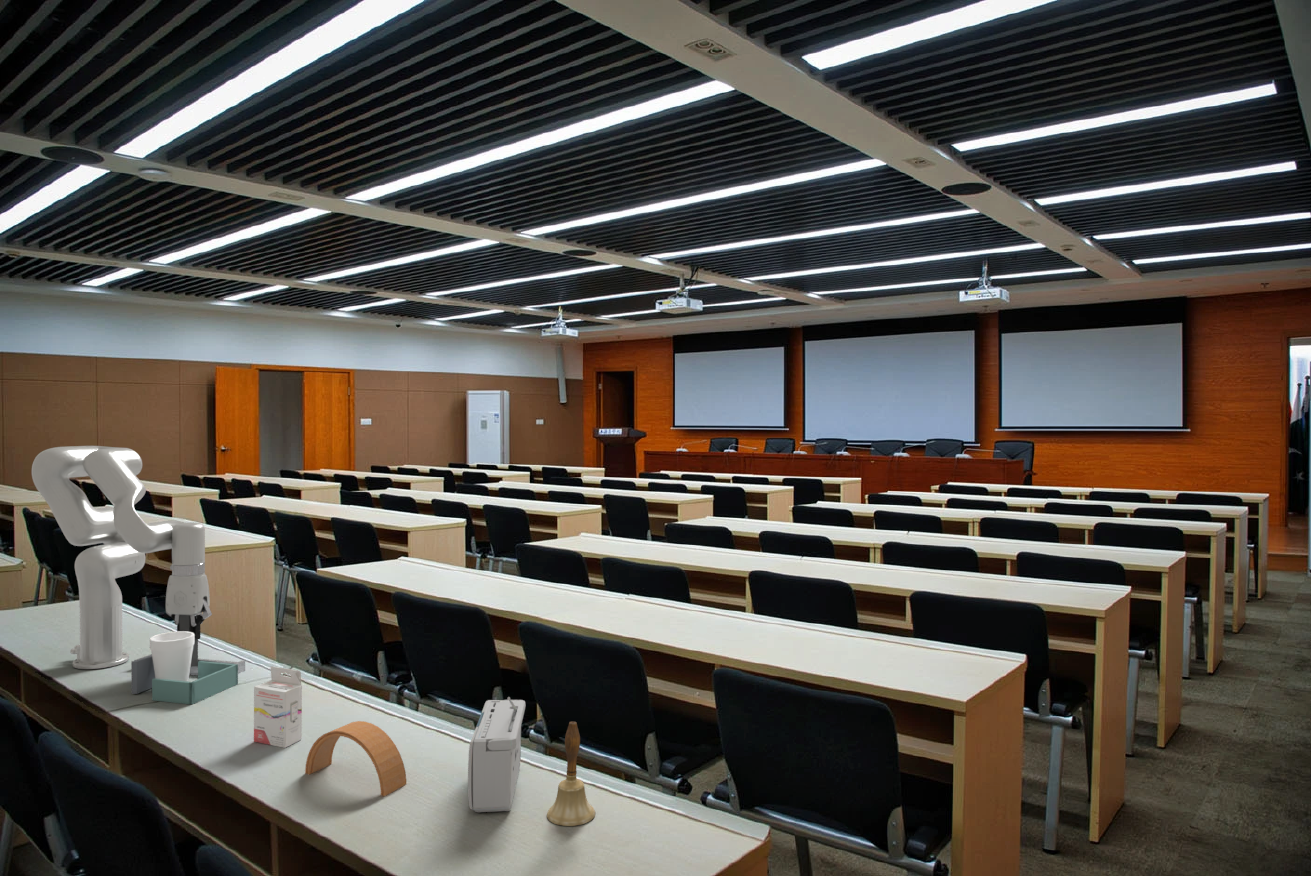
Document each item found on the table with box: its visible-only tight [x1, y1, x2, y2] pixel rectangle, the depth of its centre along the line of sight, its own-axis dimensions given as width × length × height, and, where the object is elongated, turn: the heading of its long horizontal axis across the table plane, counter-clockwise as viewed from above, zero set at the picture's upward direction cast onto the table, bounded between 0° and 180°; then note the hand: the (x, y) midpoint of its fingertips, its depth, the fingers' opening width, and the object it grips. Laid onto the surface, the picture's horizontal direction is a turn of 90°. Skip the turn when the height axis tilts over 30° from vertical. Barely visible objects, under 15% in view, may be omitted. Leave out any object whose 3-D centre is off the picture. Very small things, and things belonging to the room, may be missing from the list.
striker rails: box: [135, 653, 246, 677], centre depth 217 cm, size 28×7×2 cm, turn 77°
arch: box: [304, 720, 407, 797], centre depth 155 cm, size 6×20×10 cm, turn 63°
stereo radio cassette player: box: [467, 696, 526, 814], centre depth 151 cm, size 21×8×20 cm, turn 4°
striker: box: [130, 615, 199, 695], centre depth 208 cm, size 5×21×17 cm, turn 167°
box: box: [151, 661, 239, 705], centre depth 200 cm, size 11×15×5 cm
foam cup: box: [149, 630, 195, 682], centre depth 202 cm, size 10×9×13 cm
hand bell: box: [546, 721, 596, 827], centre depth 142 cm, size 8×8×16 cm
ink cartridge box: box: [253, 666, 303, 749], centre depth 171 cm, size 9×5×15 cm, turn 71°
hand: (188, 639), depth 217 cm, fingers closed on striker, 3 cm apart
